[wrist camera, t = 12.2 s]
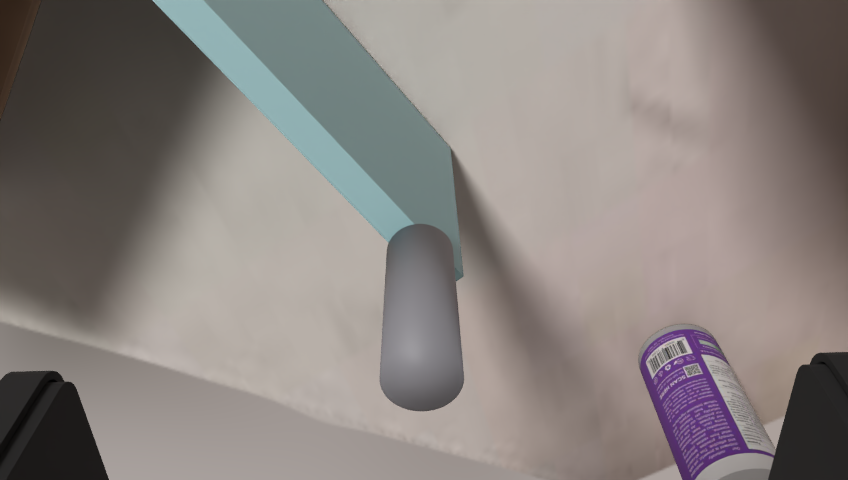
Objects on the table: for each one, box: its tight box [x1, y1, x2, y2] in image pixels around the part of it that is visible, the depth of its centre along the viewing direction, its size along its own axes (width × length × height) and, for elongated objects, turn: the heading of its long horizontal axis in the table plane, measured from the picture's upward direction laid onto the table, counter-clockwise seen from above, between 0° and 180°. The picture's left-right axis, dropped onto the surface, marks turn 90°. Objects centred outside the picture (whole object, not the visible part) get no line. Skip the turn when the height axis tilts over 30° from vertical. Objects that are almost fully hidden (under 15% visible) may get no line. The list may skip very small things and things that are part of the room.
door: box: [152, 0, 464, 411], centre depth 27 cm, size 2×20×19 cm, turn 39°
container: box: [638, 324, 776, 480], centre depth 40 cm, size 5×5×15 cm
